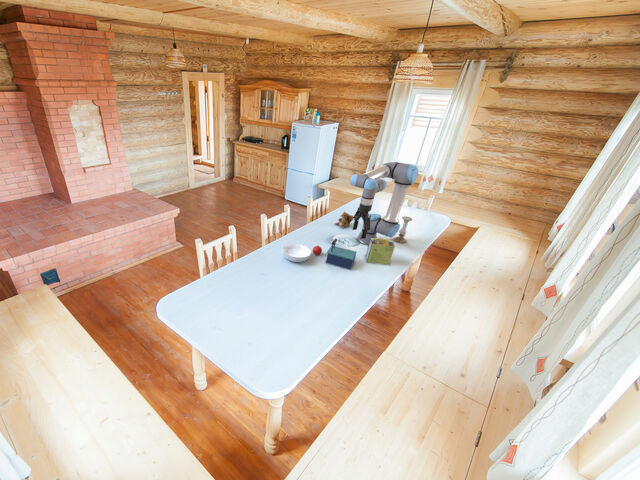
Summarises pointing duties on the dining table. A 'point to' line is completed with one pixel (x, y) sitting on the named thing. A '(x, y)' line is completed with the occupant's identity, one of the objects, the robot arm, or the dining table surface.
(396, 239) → the candle holder
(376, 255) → the protein box
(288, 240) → the dining table surface
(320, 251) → the apple
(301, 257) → the serving bowl
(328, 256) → the lunchbox
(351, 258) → the lid
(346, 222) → the teddy bear
